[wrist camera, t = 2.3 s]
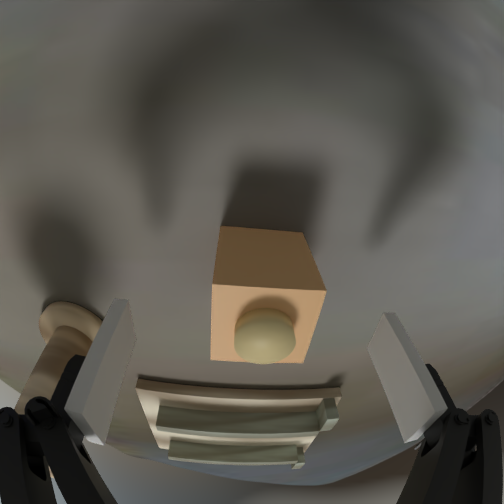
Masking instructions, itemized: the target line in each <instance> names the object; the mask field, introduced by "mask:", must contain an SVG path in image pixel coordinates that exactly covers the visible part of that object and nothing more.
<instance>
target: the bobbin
mask: <svg viewBox="0 0 504 504" xmlns="http://www.w3.org/2000/svg"><path fill="white" fill-rule="evenodd" d="M102 322H103V321H102V320H101V319H100V318H99V317H97V316H96V315H95V314H93V313H92V312H90V311H89V310H87V309H85V308H83V307H81V306H79V305H77V304H74V303H70V302H64V301H58V302H53V303H51V304H50V305H48V306H47V307H46V309H45V310H44V312H43V313H42V315H41V316H40V319H39V329H40V332H41V335H42V337H43V339H44V340H45V342H46V344H47V345H46V347H45V349H44V351H43V352H42V354H41V356H40V358H39V360H38V362H37V363H36V365H35V367H34V369H33V371H32V373H31V375H30V377H29V379H28V381H27V383H26V385H25V387H24V389H23V391H22V393H21V396H20V398H19V400H18V402H17V404H16V406H15V409H14V410H15V411H16V412H17V413H18V414H25V411H24V409H25V406H26V404H27V402H28V401H29V400H30V399H32V398H34V397H37V396H42V397H46V398H47V399H49V400H51V397H52V395H53V393H54V390H55V388H56V386H57V384H58V381H59V380H60V377H61V375H62V373H63V372H64V368H65V366H66V364H67V362H68V361H69V360H70V359H71V358H72V357H73V356H74V355H75V354H77V355H82V356H87V353H88V351H89V349H90V347H91V345H92V343H93V340H94V338H95V336H96V334H97V332H98V330H99V328H100V326H101V324H102ZM49 471H50V476H51V477H53V478H54V476H53V474H52V472H51V469H50V467H49Z"/></svg>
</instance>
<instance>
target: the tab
mask: <svg viewBox="0 0 504 504" xmlns="http://www.w3.org/2000/svg"><path fill="white" fill-rule="evenodd" d="M326 291H327V290H326V288H325V285H324V283H323V280H322V278H321V275H320V273H319V271H318V268H317V266H316V263H315V261H314V258H313V256H312V254H311V251H310V249H309V247H308V244H307V242H306V240H305V237H304V235H303V233H302V232H291V231H279V230H268V229H255V228H243V227H230V226H220V233H219V240H218V247H217V254H216V261H215V268H214V276H213V283H212V313H211V360H220V361H237V362H251V363H256V364H269V363H303V361H304V359H305V356H306V353H307V350H308V347H309V344H310V341H311V338H312V335H313V332H314V329H315V326H316V323H317V320H318V317H319V314H320V311H321V308H322V305H323V301H324V298H325V295H326Z"/></svg>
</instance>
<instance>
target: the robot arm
mask: <svg viewBox="0 0 504 504" xmlns="http://www.w3.org/2000/svg"><path fill="white" fill-rule="evenodd" d="M135 342H136V335H135V330H134V325H133V320H132V315H131V310H130V304H129V300H126V299H117V298H115V299H114V301H113V303H112V304H111V306H110V308H109V310H108V312H107V314H106V316H105V318H104V320H103V322H102V324H101V326H100V328H99V330H98V332H97V334H96V336H95V338H94V340H93V343H92V345H91V347H90V349H89V351H88V353H87V356H82V355H77V354H75V355H74V356H73V357H72V358H71V359H70V360H69V361H68V362H67V364H66V366H65V368H64V372H63V373H62V375H61V377H60V380H59V381H58V384H57V386H56V388H55V390H54V393H53V395H52V397H51V400H49V399H47V398H46V397H42V396H37V397H34V398H32V399H30V400H29V401H28V402H27V404H26V406H25V409H24V411H25V414H18V413H17V412H16V411H15V410H14V409H12V408H11V407H4V408H2V409H0V497H1V503H2V504H57V502H56V499H55V494H54V490H53V485H52V481H51V476H50V471H49V467H50V469H51V472H52V474H53V476H54V478H55V481H56V482H57V485H58V487H59V489H60V491H61V493H62V495H63V497H64V499H65V501H66V503H67V504H118V503H117V502H116V500H115V499H114V497H113V496H112V494H111V492H110V491H109V489H108V488H107V486H106V485H105V483H104V481H103V480H102V478H101V476H100V474H99V473H98V471H97V469H96V467H95V465H94V464H93V462H92V460H91V458H90V456H89V454H88V452H87V451H86V449H85V447H84V445H83V443H82V441H83V438H84V436H85V437H86V439H87V440H88V441H90V442H93V443H96V444H101V445H105V442H106V438H107V434H108V430H109V426H110V423H111V419H112V415H113V412H114V408H115V405H116V402H117V398H118V395H119V391H120V388H121V385H122V382H123V378H124V375H125V372H126V369H127V366H128V363H129V360H130V357H131V354H132V351H133V348H134V345H135ZM367 350H368V352H369V355H370V357H371V359H372V362H373V364H374V366H375V369H376V371H377V374H378V376H379V378H380V381H381V383H382V386H383V388H384V391H385V393H386V396H387V398H388V401H389V403H390V406H391V408H392V411H393V413H394V416H395V419H396V421H397V424H398V427H399V429H400V432H401V435H402V437H403V440H404V443H407V442H410V441H413V440H417V439H418V438H419V437H420V436H421V435H422V434H423V433H424V436H425V438H424V439H423V440H422V441H421V442H420V443H419V444H418V445H417V446H416V447H415V448H414V449H415V450H416V449H417V448H418V447H420V449H419V452H418V454H417V457H416V460H415V463H414V465H413V468H412V470H411V472H410V475H409V477H408V479H407V482H406V484H405V486H404V488H403V491H402V493H401V495H400V497H399V499H398V501H397V503H396V504H502V490H503V489H502V488H503V469H502V448H501V437H500V427H499V420H498V416H497V415H496V413H495V412H494V411H492V410H490V409H486V410H484V411H483V412H482V413H481V414H480V415H468V414H467V412H466V411H464V410H463V409H459V408H456V407H455V405H454V403H453V401H452V399H451V397H450V395H449V393H448V391H447V389H446V387H445V386H444V385H443V382H442V380H440V376H439V375H438V373H437V371H436V370H435V369H434V368H433V367H432V366H431V365H430V364H424V362H423V360H422V358H421V356H420V355H419V353H418V351H417V349H416V348H415V346H414V344H413V342H412V341H411V339H410V337H409V336H408V334H407V332H406V331H405V329H404V327H403V326H402V324H401V322H400V321H399V319H398V317H397V316H396V314H395V312H392V313H383V314H382V317H381V319H380V321H379V323H378V325H377V328H376V330H375V332H374V334H373V336H372V338H371V340H370V343H369V345H368V347H367ZM475 446H477V451H475Z"/></svg>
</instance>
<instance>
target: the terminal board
mask: <svg viewBox="0 0 504 504" xmlns="http://www.w3.org/2000/svg"><path fill="white" fill-rule="evenodd" d="M136 391H137V394H138V397H139V399H140V402H141V405H142V407H143V410H144V413H145V415H146V418H147V420H148V423H149V425H150V427H151V430H152V432H153V434H154V437H155V439H156V441H157V444H158V446H159V448H163V449H169V453H168V458H169V459H170V460H178V461H186V462H196V463H208V464H224V465H280V464H291V466H292V469H299V468H301V467H302V466H303V465H304V464H305V458H304V452H305V451H306V450H307V448H308V447H309V445H310V444H311V443H312V441H313V440H314V438H315V437H316V436H317V434H318V433H319V431H326V430H331V429H332V428H333V426H334V425H335V424H336V422H337V421H338V420H339V415H338V411H337V407H336V405H337V404H338V402H339V401H340V399H341V397H342V395H341V392H340V388H339V387H337V388H321V389H294V390H258V389H231V388H214V387H202V386H191V385H181V384H173V383H165V382H157V381H150V380H144V379H138V381H137V384H136Z"/></svg>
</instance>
